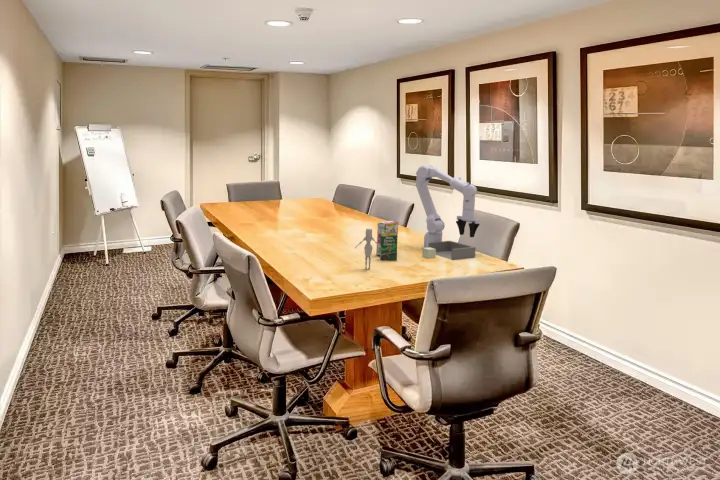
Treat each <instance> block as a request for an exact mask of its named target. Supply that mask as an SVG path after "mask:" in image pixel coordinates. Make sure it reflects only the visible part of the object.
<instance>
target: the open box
mask: <svg viewBox="0 0 720 480" xmlns="http://www.w3.org/2000/svg"><path fill="white" fill-rule="evenodd" d="M428 247H431V248H434V249H436V256H438V257H442V258H445V259H449V260H451V261H455V260H464V259H472V258H473V259H474V258H476V247H475V246H472V245H467V244H464V243H460V242H457V241H452V240H442V241H441V242H430V243H429V244H428Z"/></svg>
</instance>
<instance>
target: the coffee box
mask: <svg viewBox="0 0 720 480" xmlns="http://www.w3.org/2000/svg"><path fill="white" fill-rule="evenodd" d="M380 246H381V247H380V256H379V259H380V261H397V260H398V238H397V232H392V233H385V232H381V233H380Z"/></svg>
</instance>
